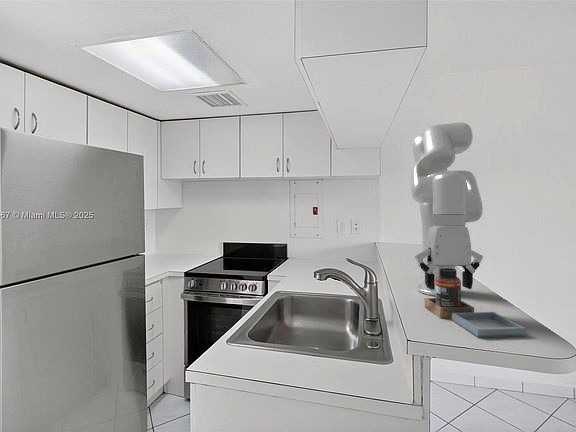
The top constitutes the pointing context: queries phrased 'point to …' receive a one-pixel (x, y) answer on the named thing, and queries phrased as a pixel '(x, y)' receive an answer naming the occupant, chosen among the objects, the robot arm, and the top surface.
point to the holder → (446, 308)
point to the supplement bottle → (448, 288)
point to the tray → (488, 325)
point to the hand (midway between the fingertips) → (448, 288)
